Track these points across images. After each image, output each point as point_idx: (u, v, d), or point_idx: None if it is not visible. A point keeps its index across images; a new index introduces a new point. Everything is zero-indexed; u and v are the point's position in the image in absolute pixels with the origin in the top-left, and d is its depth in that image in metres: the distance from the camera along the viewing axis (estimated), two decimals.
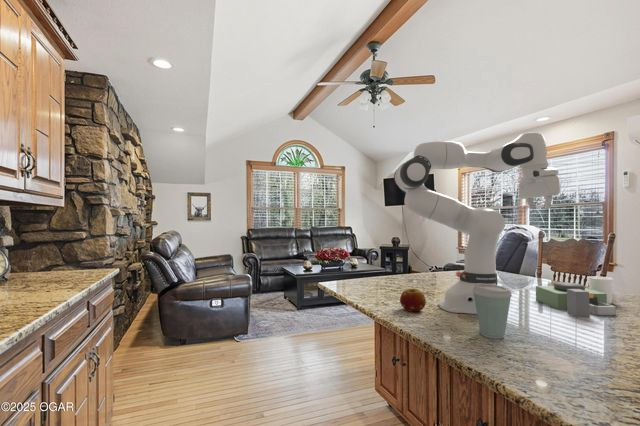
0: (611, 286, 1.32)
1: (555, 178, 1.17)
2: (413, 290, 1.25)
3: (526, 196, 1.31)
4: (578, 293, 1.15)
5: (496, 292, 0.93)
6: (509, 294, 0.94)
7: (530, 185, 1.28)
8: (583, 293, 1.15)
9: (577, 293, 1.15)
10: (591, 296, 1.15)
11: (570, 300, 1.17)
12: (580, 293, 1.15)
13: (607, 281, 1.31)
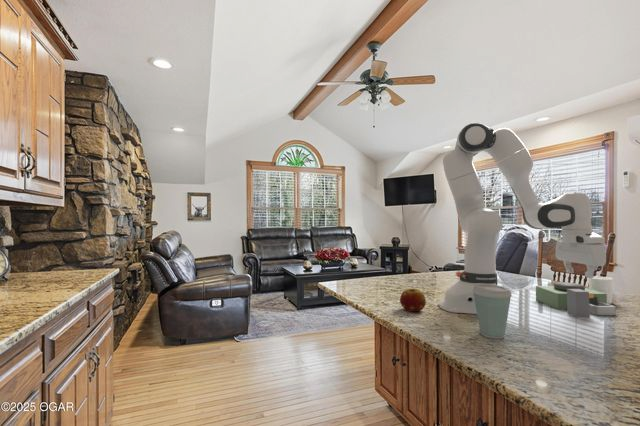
0: (611, 286, 1.32)
1: (602, 248, 1.08)
2: (413, 290, 1.25)
3: (564, 258, 1.22)
4: (578, 293, 1.15)
5: (496, 292, 0.93)
6: (509, 294, 0.94)
7: (570, 248, 1.19)
8: (583, 293, 1.15)
9: (577, 293, 1.15)
10: (591, 296, 1.15)
11: (570, 300, 1.17)
12: (580, 293, 1.15)
13: (607, 281, 1.31)
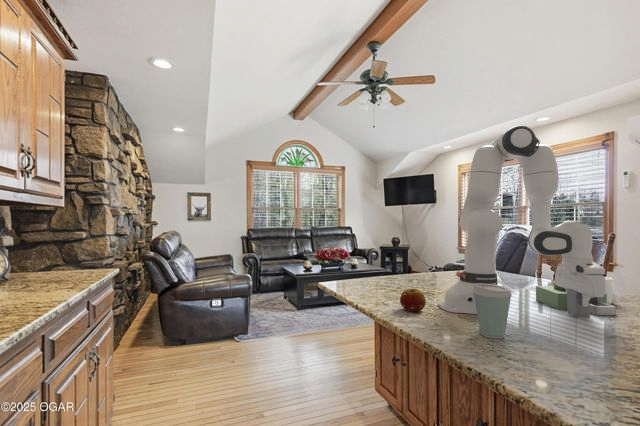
0: (611, 286, 1.32)
1: (601, 279, 1.07)
2: (413, 290, 1.25)
3: (563, 286, 1.22)
4: (578, 293, 1.15)
5: (496, 292, 0.93)
6: (509, 294, 0.94)
7: (569, 276, 1.19)
8: None
9: (577, 293, 1.15)
10: (591, 296, 1.15)
11: (570, 300, 1.17)
12: (580, 293, 1.15)
13: (607, 281, 1.31)
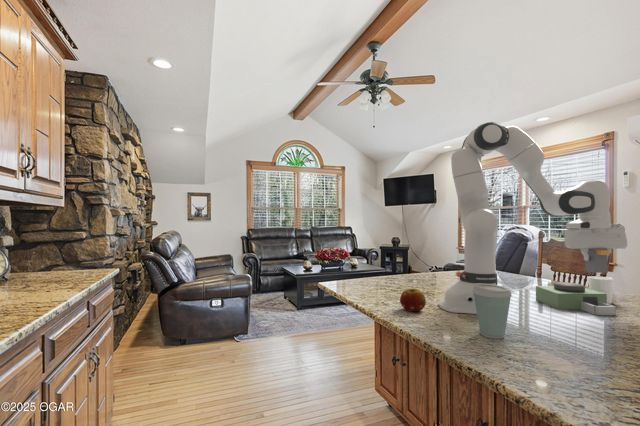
0: (611, 286, 1.32)
1: (571, 232, 1.21)
2: (413, 290, 1.25)
3: None
4: None
5: (496, 292, 0.93)
6: (509, 294, 0.94)
7: None
8: (590, 249, 1.21)
9: None
10: (599, 253, 1.18)
11: None
12: (588, 249, 1.22)
13: (607, 281, 1.31)
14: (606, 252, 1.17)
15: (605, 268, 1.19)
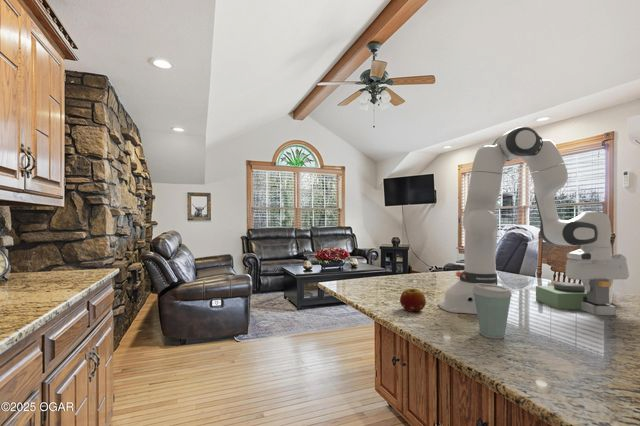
0: (611, 286, 1.32)
1: (572, 263, 1.20)
2: (413, 290, 1.25)
3: None
4: None
5: (496, 292, 0.93)
6: (509, 294, 0.94)
7: None
8: None
9: None
10: (600, 284, 1.17)
11: None
12: None
13: None
14: (607, 284, 1.16)
15: (607, 299, 1.18)
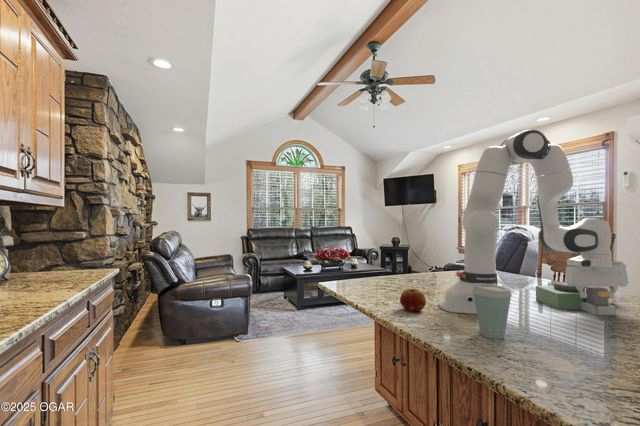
0: None
1: (572, 270, 1.20)
2: (413, 290, 1.25)
3: None
4: (587, 288, 1.22)
5: (496, 292, 0.93)
6: (509, 294, 0.94)
7: None
8: (590, 289, 1.21)
9: (586, 288, 1.23)
10: (600, 294, 1.17)
11: None
12: (589, 289, 1.22)
13: None
14: (607, 294, 1.16)
15: None
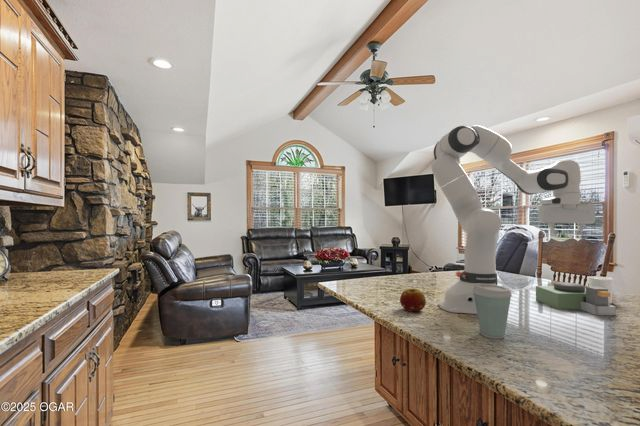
0: (611, 286, 1.32)
1: (543, 208, 1.30)
2: (413, 290, 1.25)
3: None
4: (587, 288, 1.22)
5: (496, 292, 0.93)
6: (509, 294, 0.94)
7: None
8: (591, 289, 1.21)
9: (586, 288, 1.23)
10: (600, 294, 1.17)
11: None
12: (589, 289, 1.22)
13: (607, 281, 1.31)
14: (607, 294, 1.16)
15: None
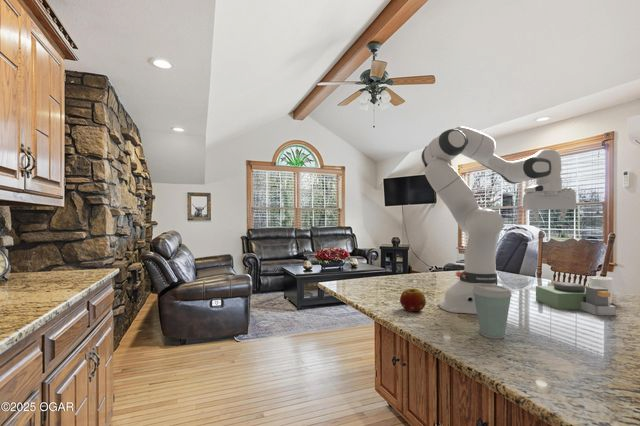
0: (611, 286, 1.32)
1: (527, 195, 1.37)
2: (413, 290, 1.25)
3: None
4: (587, 288, 1.22)
5: (496, 292, 0.93)
6: (509, 294, 0.94)
7: None
8: (590, 289, 1.21)
9: (586, 288, 1.23)
10: (600, 294, 1.17)
11: None
12: (589, 289, 1.22)
13: (607, 281, 1.31)
14: (607, 294, 1.16)
15: None
